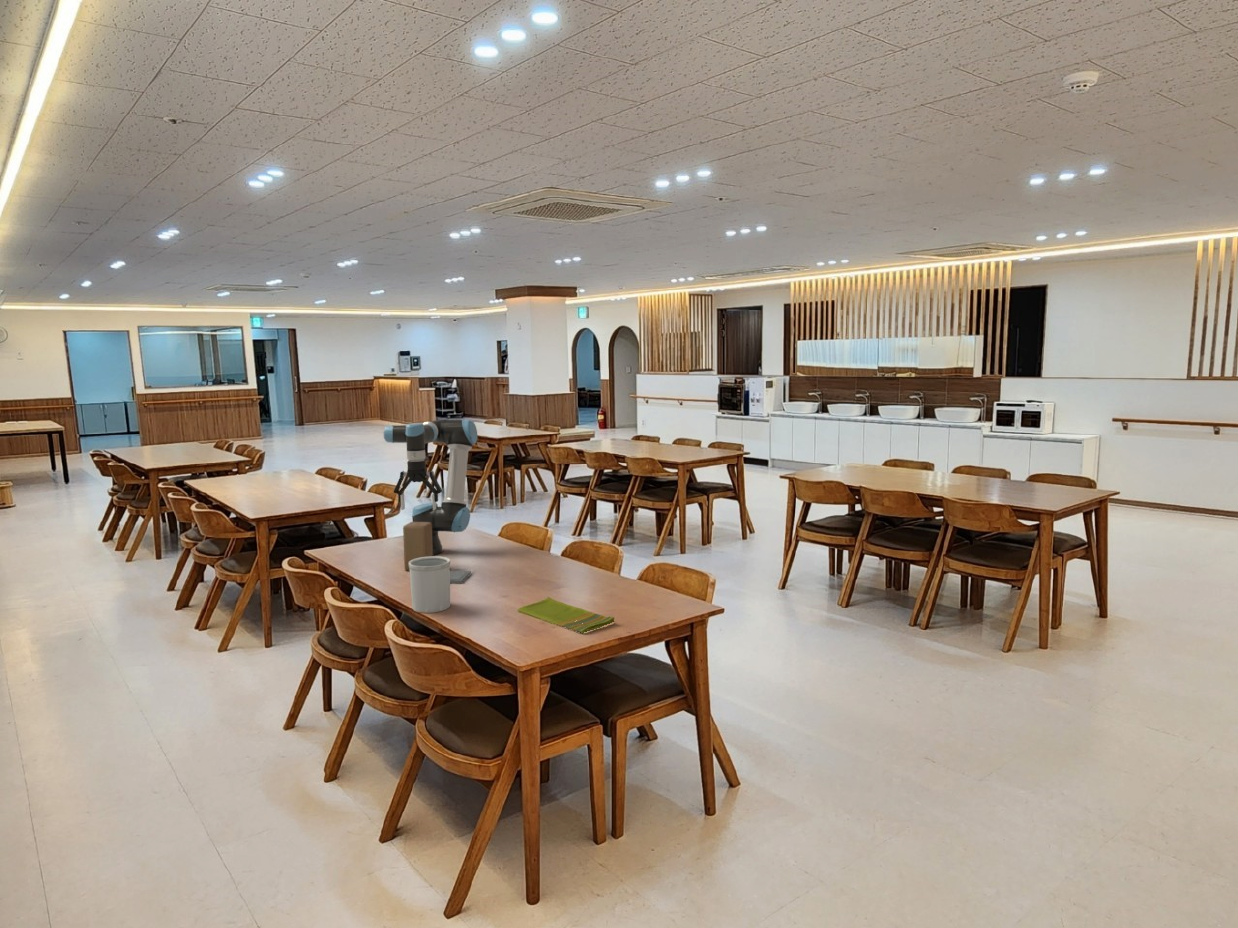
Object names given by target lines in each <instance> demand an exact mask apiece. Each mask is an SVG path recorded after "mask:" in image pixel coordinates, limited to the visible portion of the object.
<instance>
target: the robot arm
mask: <svg viewBox="0 0 1238 928" xmlns="http://www.w3.org/2000/svg"><path fill="white" fill-rule="evenodd" d="M383 438H384V441H385V442H386V443H391V444H406V459H407V463H406V464H407V471H404V470H402V471H400V472H399V473H400V474H399V479H398V481H397V482H396V485H395V487H394V489H393V494H396V495H398V496H397V497H398V503H400V510H401V511H404V510H405V509H406V505H405V504H406V503H405V493H404V491H406V489H407V488H408V486H409V485H410V483H412V482H413V483H421V482H422V483H423V484H424V485H425V486H426V487H427V488H428V489H429V490H430V491H431V493H433V494H432V495H431V497H432V500H431V501H432V502H428V503H421V504H418V505H415V506H413V508H412V512H411V513H412V514H411V517H412V522H430V523H431V524H432V547H433V556H434V555H438V554H441V553H442V552H443V545H442V542H441V539H440V537H439V532H446V533H447V532H449V533H462V532H464V531H465V530H467V527H468V525H469V524H470V518H471V511H470V509H469V508H468V507H467V503H466V501H464V499H465V491H466V478H467V471H468V470H467V468H468V459H469V451H471V450H472V449H473V445H475V444H477V443H478V442H477V441H478V430H477V426H476V423H475V422H474V421H472V420H471V419H465V418H463V419H443V418H442V419H437V420H431V421H425V422H423V423H421V422H417V423H414V422H413V423H412V422H411V423H407V424H400V425H395V424H394V425H393V424H392V425H386V426H385V427H384V430H383ZM428 443H429V444H430V443H439V444H446V447H447V448H448V449H449V459H448V460H449V461H448V467H447V468H448V470H447V477H446V480H447V481H446V486H445V487H446V488H445V491H446V492H445V496H444V497H445V498H444V500H443V501H441V503H440V504H441V505H440V506H438V503H437V502H438V501H439V494H441V493H442V492H443V489H442V487H441V486H440V484H439V482H438V480H437V478H436V476H435V472H434V470H431V471H427V465H426V464H427V463H426V462H427V461H426V444H428ZM405 477H408V479H407V480H406V482H405V483H404V485H402V483H403V481H404V478H405ZM427 477H429V478H430V480H431V481H432V483H431V482H430V481H429V480H428V478H427ZM401 485H402V487H401Z"/></svg>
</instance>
